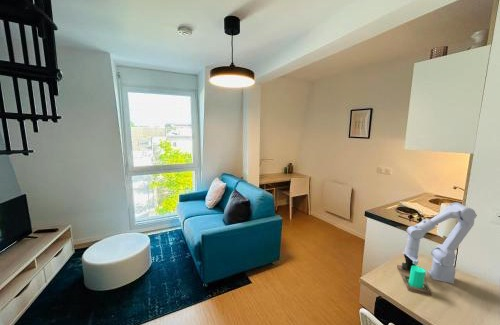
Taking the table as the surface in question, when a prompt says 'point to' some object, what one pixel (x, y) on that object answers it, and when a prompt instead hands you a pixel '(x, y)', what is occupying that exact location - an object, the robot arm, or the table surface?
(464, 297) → the table surface
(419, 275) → the candle
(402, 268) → the brown compartment tray
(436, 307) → the table surface
